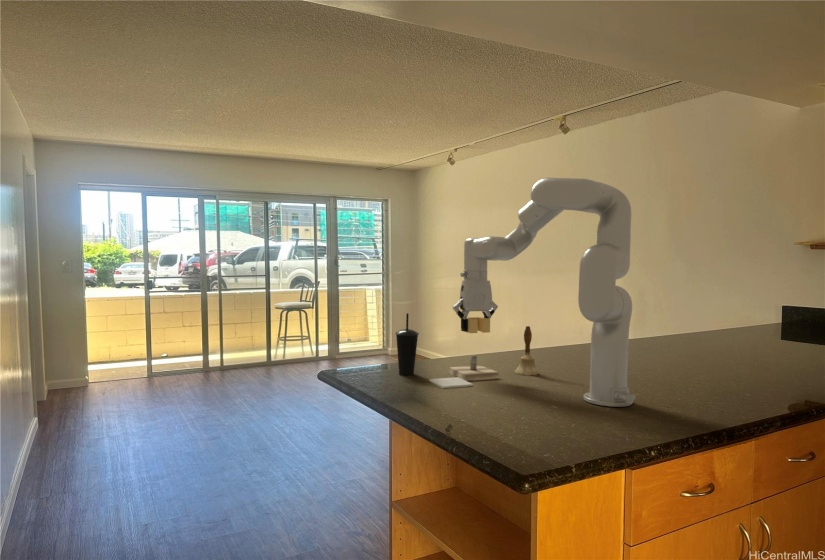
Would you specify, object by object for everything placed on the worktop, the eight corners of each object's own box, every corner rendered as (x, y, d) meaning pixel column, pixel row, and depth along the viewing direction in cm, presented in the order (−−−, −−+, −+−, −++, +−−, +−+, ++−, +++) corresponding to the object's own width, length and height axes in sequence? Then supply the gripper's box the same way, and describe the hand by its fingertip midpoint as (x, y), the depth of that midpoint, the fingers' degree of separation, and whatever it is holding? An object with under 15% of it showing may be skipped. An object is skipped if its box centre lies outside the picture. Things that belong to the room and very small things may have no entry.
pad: (472, 386, 162) (472, 384, 162) (442, 388, 158) (442, 386, 158) (458, 379, 171) (458, 377, 171) (429, 381, 168) (429, 379, 168)
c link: (490, 332, 174) (490, 318, 174) (470, 333, 171) (470, 319, 171) (479, 330, 181) (479, 316, 180) (460, 330, 178) (460, 317, 178)
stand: (498, 378, 173) (499, 358, 173) (465, 380, 169) (465, 359, 169) (480, 371, 185) (480, 352, 184) (448, 373, 180) (449, 353, 180)
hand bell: (541, 375, 179) (543, 328, 178) (516, 375, 179) (517, 327, 179) (536, 370, 187) (537, 325, 187) (512, 370, 187) (513, 324, 187)
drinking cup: (418, 372, 181) (420, 312, 181) (416, 376, 174) (418, 314, 173) (396, 371, 182) (397, 312, 181) (393, 376, 174) (394, 314, 174)
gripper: (456, 276, 169) (456, 333, 169) (504, 276, 175) (504, 331, 176) (446, 276, 176) (446, 330, 176) (493, 276, 182) (492, 328, 183)
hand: (475, 330), depth 176 cm, fingers closed on c link, 7 cm apart
